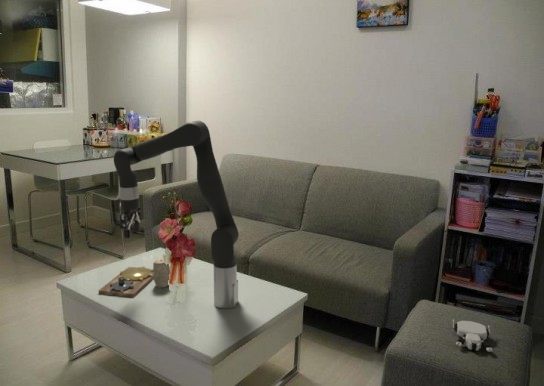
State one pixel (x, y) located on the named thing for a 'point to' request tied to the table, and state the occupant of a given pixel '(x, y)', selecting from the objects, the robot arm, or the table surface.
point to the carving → (161, 273)
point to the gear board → (128, 282)
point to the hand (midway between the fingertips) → (132, 234)
